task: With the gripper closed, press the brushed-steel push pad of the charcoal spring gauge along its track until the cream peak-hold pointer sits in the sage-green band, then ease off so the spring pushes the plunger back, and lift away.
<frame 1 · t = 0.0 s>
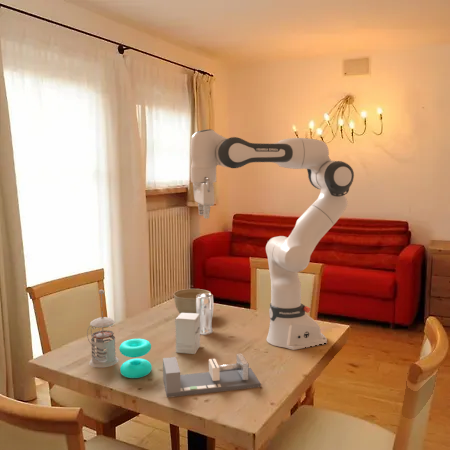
hand: (204, 216, 165), 48 cm above the table, fingers open, 8 cm apart
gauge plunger: (232, 367, 145), point 4 cm above the table, slide at 0.0 cm
french press: (102, 361, 161), on the table
planter bowl: (192, 318, 206), on the table
donuts: (136, 373, 152), on the table
gauge pointer: (214, 369, 143), point 5 cm above the table, slide at 0.0 cm
supplement box: (188, 350, 170), on the table
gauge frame: (211, 383, 144), on the table
beer glass: (204, 332, 188), on the table
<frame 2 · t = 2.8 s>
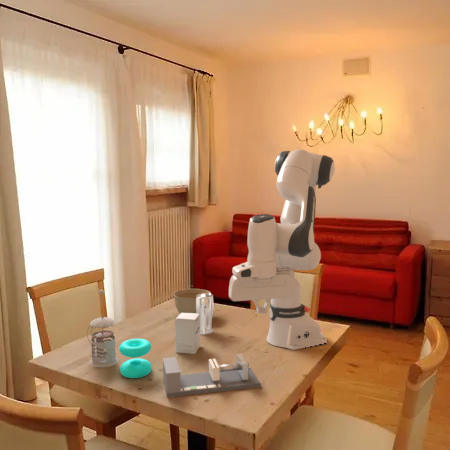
hand: (261, 312, 144), 21 cm above the table, fingers closed
nothing on the table moved.
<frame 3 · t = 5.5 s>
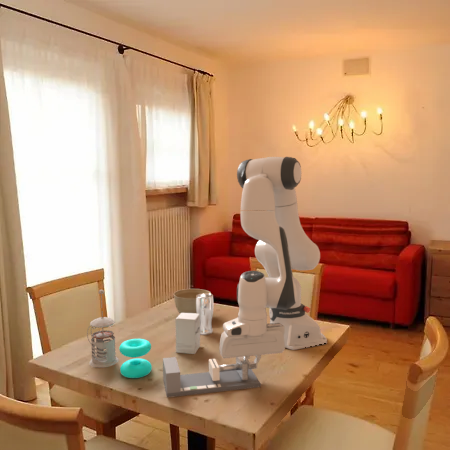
hand: (252, 368, 146), 4 cm above the table, fingers closed
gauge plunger: (231, 367, 145), point 4 cm above the table, slide at 0.2 cm, touching gripper
everything else where it was.
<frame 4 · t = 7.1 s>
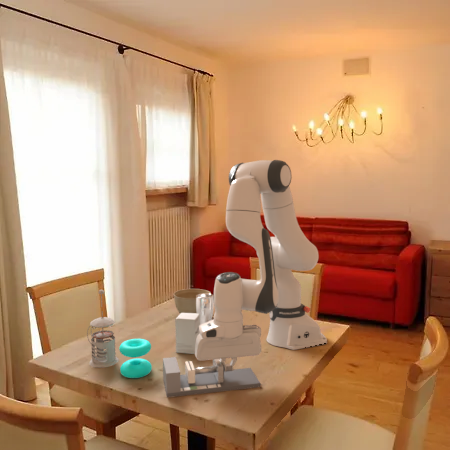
hand: (228, 370, 144), 4 cm above the table, fingers closed
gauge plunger: (207, 369, 143), point 4 cm above the table, slide at 7.6 cm, touching gauge pointer, gripper
gauge pointer: (190, 371, 141), point 5 cm above the table, slide at 7.3 cm, touching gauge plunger
everything else where it was.
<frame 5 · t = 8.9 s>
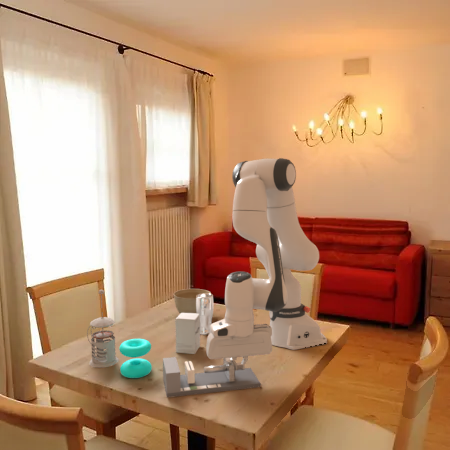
hand: (239, 369, 145), 4 cm above the table, fingers closed
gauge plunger: (218, 368, 144), point 4 cm above the table, slide at 4.2 cm, touching gripper
gauge pointer: (189, 371, 141), point 5 cm above the table, slide at 7.4 cm
everything else where it was.
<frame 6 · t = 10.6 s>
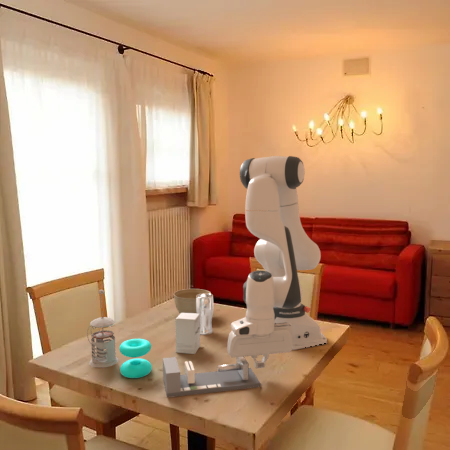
hand: (259, 367, 147), 4 cm above the table, fingers closed
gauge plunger: (232, 367, 145), point 4 cm above the table, slide at 0.0 cm
everything else where it was.
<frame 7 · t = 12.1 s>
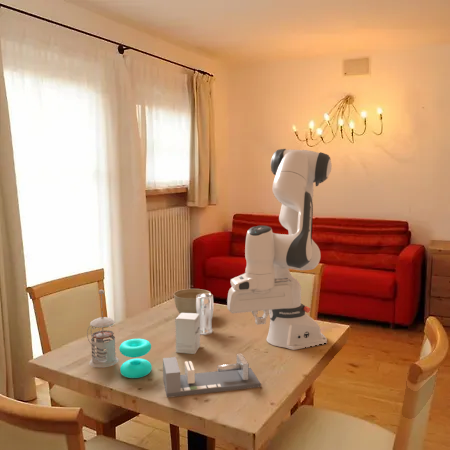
hand: (260, 323, 145), 18 cm above the table, fingers closed
nothing on the table moved.
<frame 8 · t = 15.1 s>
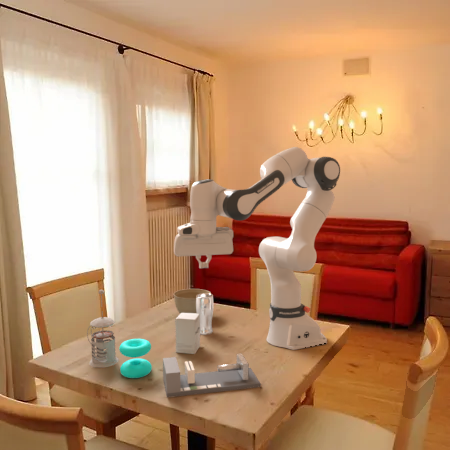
hand: (203, 267, 161), 31 cm above the table, fingers closed
nothing on the table moved.
at the end: gauge pointer slide at 7.4 cm; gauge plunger slide at 0.0 cm; donuts moved 0.3 cm from its start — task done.
